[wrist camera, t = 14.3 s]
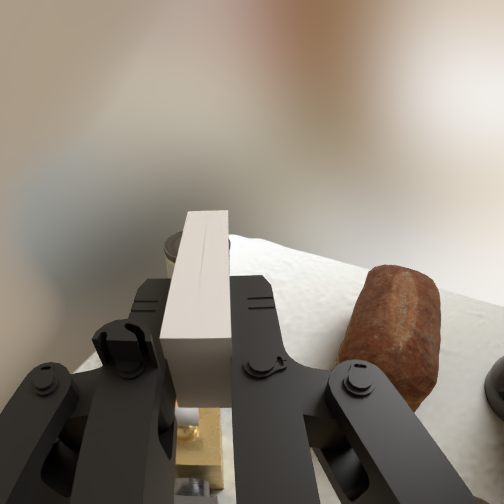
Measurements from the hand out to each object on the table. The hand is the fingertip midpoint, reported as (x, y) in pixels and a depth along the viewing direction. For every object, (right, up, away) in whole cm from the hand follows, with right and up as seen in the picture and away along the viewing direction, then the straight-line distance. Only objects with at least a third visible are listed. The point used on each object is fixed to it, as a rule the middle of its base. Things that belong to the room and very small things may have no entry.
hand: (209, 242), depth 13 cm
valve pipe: (-5, -25, +20) cm, 32 cm away
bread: (+23, -18, +35) cm, 45 cm away
